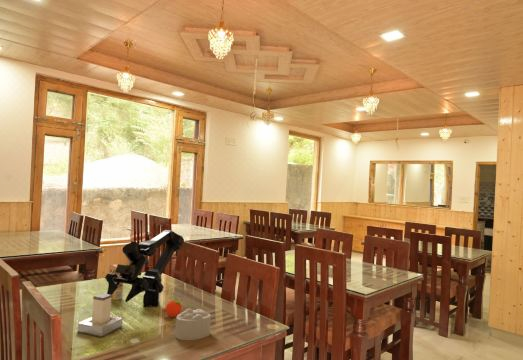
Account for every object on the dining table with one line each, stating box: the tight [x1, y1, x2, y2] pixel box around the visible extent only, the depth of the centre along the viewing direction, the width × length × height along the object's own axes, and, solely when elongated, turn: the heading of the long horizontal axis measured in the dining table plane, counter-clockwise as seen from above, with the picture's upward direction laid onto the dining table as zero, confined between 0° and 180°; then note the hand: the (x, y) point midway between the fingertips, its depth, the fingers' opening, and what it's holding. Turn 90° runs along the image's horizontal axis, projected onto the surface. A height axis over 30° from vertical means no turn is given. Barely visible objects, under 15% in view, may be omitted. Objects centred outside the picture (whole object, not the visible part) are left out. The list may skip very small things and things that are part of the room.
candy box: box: [108, 264, 124, 301], centre depth 174 cm, size 9×4×15 cm, turn 44°
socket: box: [77, 315, 123, 338], centre depth 136 cm, size 11×11×4 cm
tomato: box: [165, 299, 184, 318], centre depth 153 cm, size 8×7×7 cm
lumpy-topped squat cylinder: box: [174, 308, 212, 341], centre depth 136 cm, size 10×13×9 cm
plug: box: [91, 292, 112, 325], centre depth 136 cm, size 4×4×12 cm
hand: (116, 300), depth 143 cm, fingers open, 9 cm apart
